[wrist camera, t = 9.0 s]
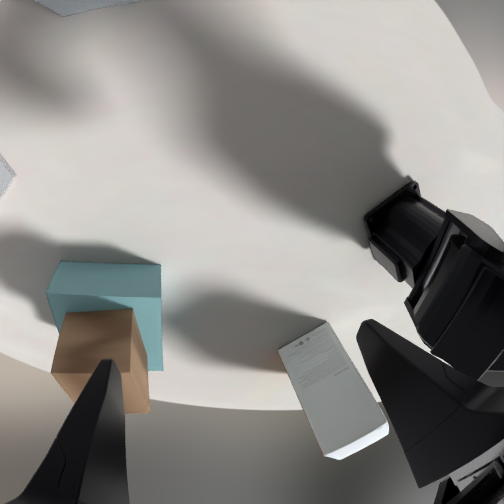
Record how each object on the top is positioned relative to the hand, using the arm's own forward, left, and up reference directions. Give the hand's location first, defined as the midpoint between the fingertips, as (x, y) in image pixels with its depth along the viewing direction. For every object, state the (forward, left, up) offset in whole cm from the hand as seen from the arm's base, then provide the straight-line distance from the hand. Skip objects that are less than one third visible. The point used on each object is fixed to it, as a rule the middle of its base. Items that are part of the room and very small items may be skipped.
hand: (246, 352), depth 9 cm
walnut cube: (+11, +1, -8) cm, 13 cm away
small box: (+1, +22, -12) cm, 25 cm away
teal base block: (+11, +2, -12) cm, 16 cm away
